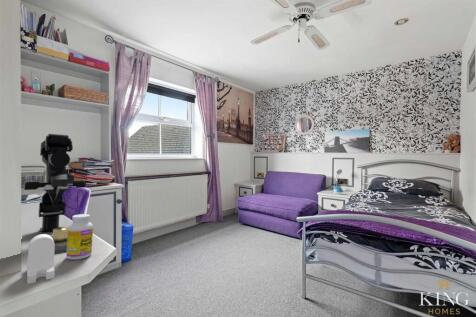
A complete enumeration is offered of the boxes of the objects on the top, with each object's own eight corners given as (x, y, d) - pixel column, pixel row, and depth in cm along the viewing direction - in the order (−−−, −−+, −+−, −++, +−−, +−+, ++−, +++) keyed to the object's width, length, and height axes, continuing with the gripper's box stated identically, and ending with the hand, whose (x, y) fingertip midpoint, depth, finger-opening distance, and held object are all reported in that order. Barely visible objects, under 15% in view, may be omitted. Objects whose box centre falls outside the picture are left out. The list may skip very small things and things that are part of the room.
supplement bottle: (79, 261, 71) (81, 218, 72) (60, 259, 73) (62, 217, 73) (96, 253, 78) (98, 214, 78) (79, 251, 79) (81, 212, 79)
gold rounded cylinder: (50, 245, 84) (51, 228, 84) (65, 243, 87) (66, 226, 87) (53, 249, 81) (54, 231, 81) (69, 246, 84) (70, 229, 84)
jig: (40, 243, 85) (40, 238, 85) (70, 238, 92) (70, 233, 92) (47, 254, 76) (47, 248, 76) (80, 248, 82) (80, 242, 82)
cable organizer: (51, 264, 69) (53, 230, 69) (54, 277, 61) (56, 238, 62) (27, 269, 65) (28, 233, 65) (27, 284, 58) (29, 242, 58)
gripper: (27, 166, 80) (25, 213, 80) (90, 167, 94) (88, 207, 94) (24, 166, 88) (22, 208, 88) (82, 166, 102) (81, 203, 101)
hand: (55, 206), depth 92 cm, fingers closed
